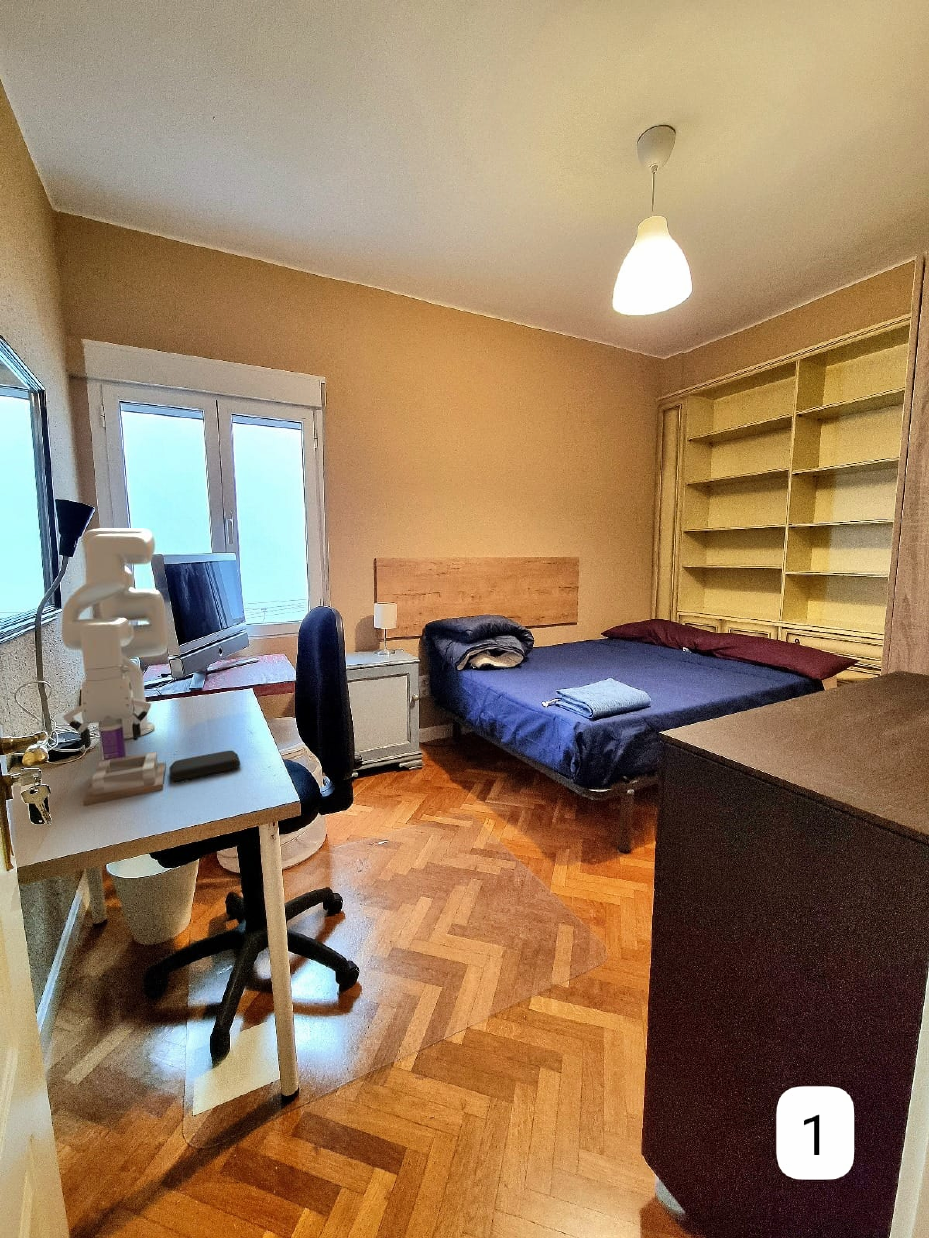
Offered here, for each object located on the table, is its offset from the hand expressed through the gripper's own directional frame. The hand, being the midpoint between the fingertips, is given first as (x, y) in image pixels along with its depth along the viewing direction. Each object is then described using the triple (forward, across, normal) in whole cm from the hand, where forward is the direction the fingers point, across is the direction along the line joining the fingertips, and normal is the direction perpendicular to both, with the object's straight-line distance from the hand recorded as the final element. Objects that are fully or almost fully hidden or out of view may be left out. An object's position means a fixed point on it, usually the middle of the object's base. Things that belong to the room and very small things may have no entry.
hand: (112, 742), depth 122 cm
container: (+7, 0, 0) cm, 7 cm away
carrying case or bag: (+7, -19, +13) cm, 24 cm away
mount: (+6, -4, +13) cm, 15 cm away
